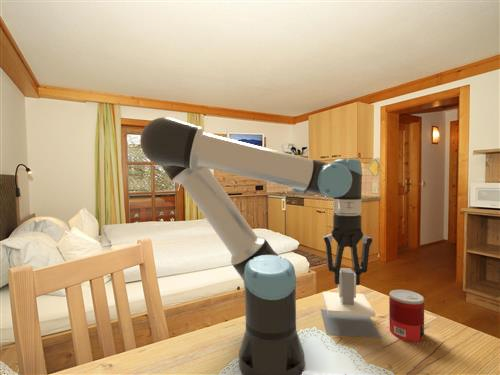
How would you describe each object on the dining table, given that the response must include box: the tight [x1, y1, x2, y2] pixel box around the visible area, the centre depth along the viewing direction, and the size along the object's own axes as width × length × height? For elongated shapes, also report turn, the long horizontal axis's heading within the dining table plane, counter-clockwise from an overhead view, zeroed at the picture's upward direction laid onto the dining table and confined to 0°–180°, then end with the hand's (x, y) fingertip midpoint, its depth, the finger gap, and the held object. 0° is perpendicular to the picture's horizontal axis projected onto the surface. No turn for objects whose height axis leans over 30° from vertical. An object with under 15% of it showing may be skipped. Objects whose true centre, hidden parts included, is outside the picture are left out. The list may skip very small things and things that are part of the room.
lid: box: [321, 267, 376, 318], centre depth 78 cm, size 12×12×10 cm
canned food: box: [388, 289, 425, 343], centre depth 72 cm, size 8×8×11 cm
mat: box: [319, 309, 383, 339], centre depth 78 cm, size 14×14×1 cm
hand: (346, 295), depth 78 cm, fingers closed on lid, 3 cm apart
